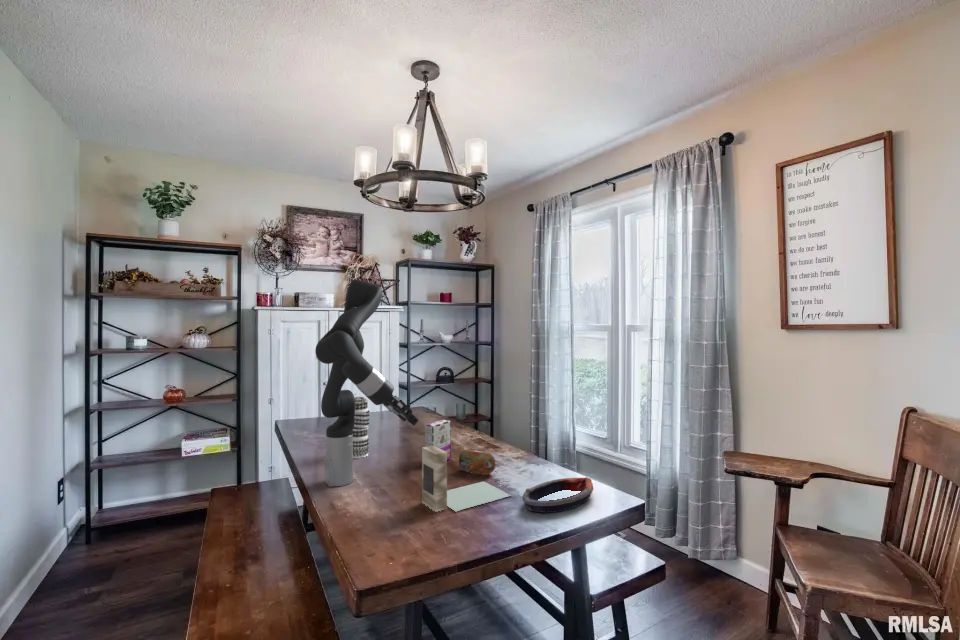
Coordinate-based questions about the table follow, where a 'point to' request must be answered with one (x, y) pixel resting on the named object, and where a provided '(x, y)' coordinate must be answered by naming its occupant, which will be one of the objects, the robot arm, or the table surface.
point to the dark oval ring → (554, 486)
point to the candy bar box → (439, 436)
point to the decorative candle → (360, 428)
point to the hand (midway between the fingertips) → (410, 420)
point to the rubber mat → (473, 495)
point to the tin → (477, 462)
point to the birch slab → (434, 478)
